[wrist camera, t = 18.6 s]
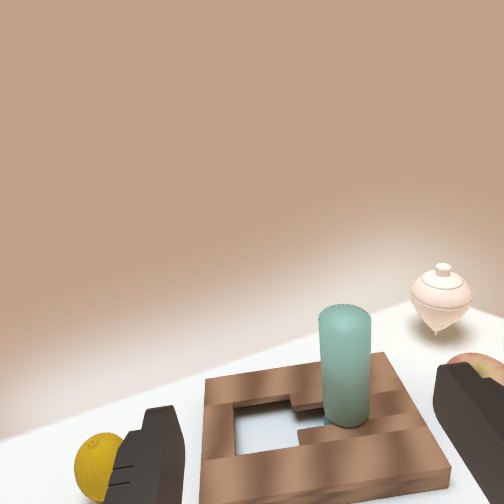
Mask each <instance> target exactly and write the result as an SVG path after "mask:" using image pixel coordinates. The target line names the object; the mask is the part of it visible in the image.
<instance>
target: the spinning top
mask: <svg viewBox="0 0 504 504" xmlns="http://www.w3.org/2000/svg"><path fill="white" fill-rule="evenodd" d="M411 300H412V303H413V305H414V307H415V309H416V311H417V312H418V314H419V315H420V317H421V318H422V319H423V320H424V322H425V323H426V324H427V325H428V326H429V327H430V328H431V329H432V330H433V331H434V335H435V336H437V332H438V331H441V330H443V329H445V328H447V327H448V326H450V325H451V324H453V323H454V322H456V321H457V320H459V319H460V318H461V317H462V316H463V315H464V314H465V313H466V311H467V310H468V309H469V307H470V303H471V300H472V295H471V291H470V288H469V287H468V285H467V283H466V282H465V281H464V280H463V279H462V277H460V276H459V275H458V274H456V273H453V272H451V266H450V265H449V264H446V263H439V264H437V265H436V270H431V271H427V272H425V273H424V274H423V275H421V276H420V277H419V278H417V279H416V281H415V282H414V283H413V285H412V288H411Z"/></svg>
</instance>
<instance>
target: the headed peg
mask: <svg viewBox="0 0 504 504" xmlns="http://www.w3.org/2000/svg"><path fill="white" fill-rule="evenodd" d="M318 321H319V338H320V355H321V373H322V390H323V407H324V412H325V416H324V424H325V426H326V425H332V424H337V425H339V426H343V427H355V426H358V425H360V424H362V423H364V422H365V421H366V419H367V418H368V415H369V401H370V352H371V317H370V315H369V314H368V313H367V312H366V311H365V310H364V309H362V308H360V307H357V306H354V305H349V304H337V305H333V306H330V307H327V308H325V309H324V310H323V311H322V312H321V313H320V314H319V318H318Z"/></svg>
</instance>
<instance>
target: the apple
mask: <svg viewBox="0 0 504 504" xmlns="http://www.w3.org/2000/svg"><path fill="white" fill-rule="evenodd" d="M458 362H468V363H469V364H470V365H471V366H472V367H473V368H474V369H475V370H476V371H477V372H478V374H479V375H480V376H481V377H482V378H487V377H490V378H492V379H494V380H495V381H497V382H498V383H500V384H501V385H503V386H504V364H503V363H501V362H499V361H497V360H496V359H493V358H491V357H489V356H486V355H483V354H479V353H464V354H460V355H457V356H455V357H453V358H452V359H451V360H449V361H448V363H447V364H451V363H458Z"/></svg>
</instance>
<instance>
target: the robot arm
mask: <svg viewBox="0 0 504 504" xmlns="http://www.w3.org/2000/svg"><path fill="white" fill-rule="evenodd" d="M433 408H434V412H435V415H436V417H437V419H438V421H439V423H440V425H441V426H442V428H443V429H444V431H445V433H446V434H447V436H448V437H449V439H450V441H451V442H452V444H453V445H454V447H455V448H456V450H457V452H458V453H459V455H460V456H461V458H462V460H463V461H464V463H465V464H466V466H467V467H468V469H469V471H470V472H471V474H472V475H473V477H474V479H475V480H476V482H477V483H478V485H479V487H480V488H481V490H482V491H483V493H484V494H485V496H486V498H487V499H488V501H489V502H490V504H504V386H503V385H501V384H500V383H498V382H497V381H495V380H494V379H492V378H490V377H487V378H482V377H481V376H480V375H479V374H478V372H477V371H476V370H475V369H474V368H473V367H472V366H471V365H470V364H469V363H468V362H458V363H451V364H445V365H440V366H439V367H438V368H437V374H436V381H435V388H434V395H433ZM184 467H185V444H184V438H183V435H182V432H181V428H180V425H179V422H178V419H177V415H176V412H175V409H174V407H173V405H170V406H163V407H156V408H150V409H147V410H146V412H145V415H144V419H143V424H142V429H141V430H135V431H129V433H128V434H127V436H126V437H125V439H124V440H123V442H122V443H121V445H120V446H119V448H118V450H117V453H116V457H115V461H114V465H113V468H112V469H113V472H112V473H111V476H110V480H109V483H108V489H107V491H106V494H105V498H104V502H103V504H181V502H182V491H183V479H184Z"/></svg>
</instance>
